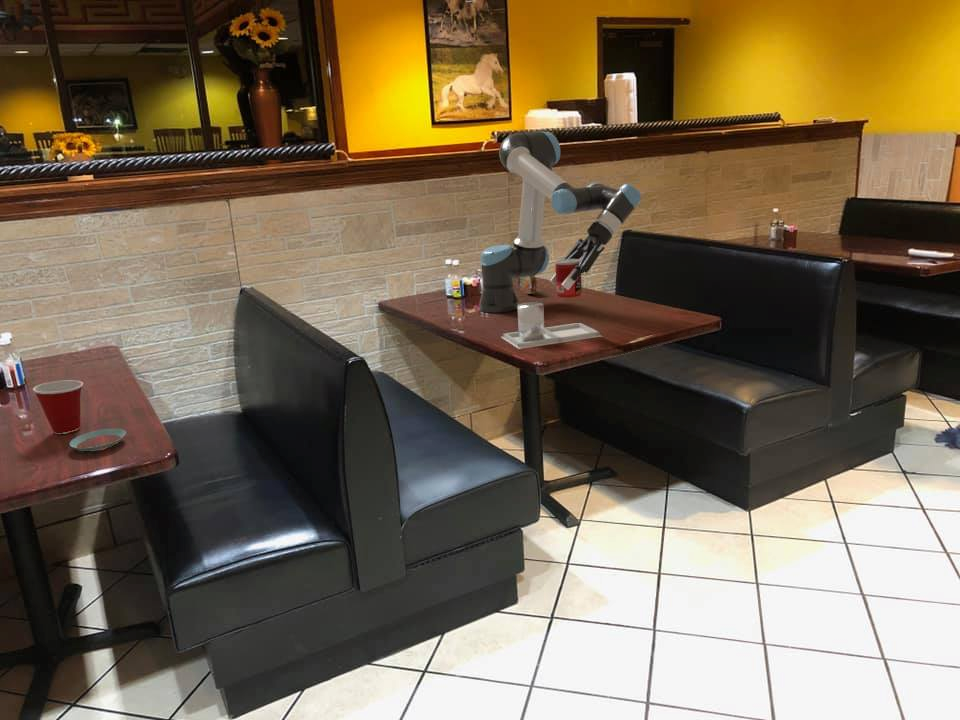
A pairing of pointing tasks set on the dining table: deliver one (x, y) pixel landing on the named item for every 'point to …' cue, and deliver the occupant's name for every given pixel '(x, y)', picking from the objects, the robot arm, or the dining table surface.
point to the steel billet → (531, 321)
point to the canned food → (562, 273)
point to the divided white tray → (555, 335)
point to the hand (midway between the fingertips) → (558, 285)
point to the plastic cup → (61, 404)
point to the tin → (528, 284)
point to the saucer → (93, 434)
